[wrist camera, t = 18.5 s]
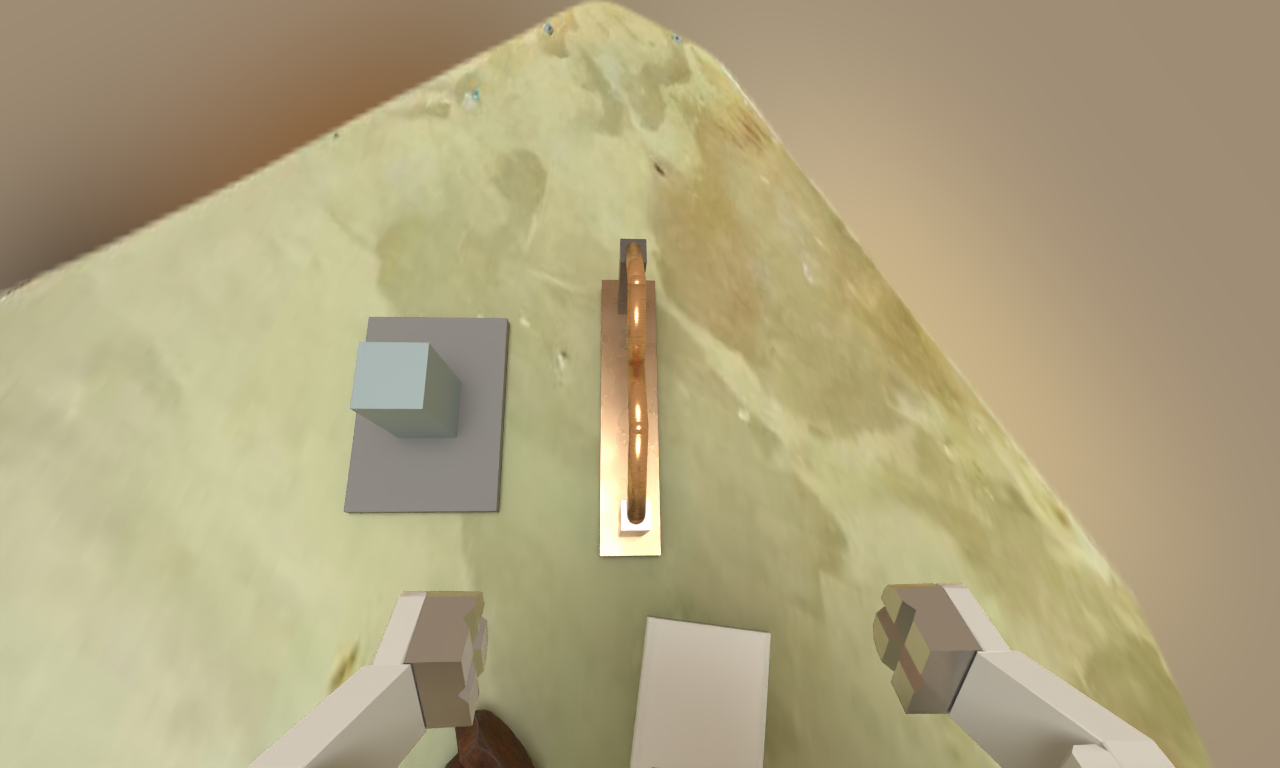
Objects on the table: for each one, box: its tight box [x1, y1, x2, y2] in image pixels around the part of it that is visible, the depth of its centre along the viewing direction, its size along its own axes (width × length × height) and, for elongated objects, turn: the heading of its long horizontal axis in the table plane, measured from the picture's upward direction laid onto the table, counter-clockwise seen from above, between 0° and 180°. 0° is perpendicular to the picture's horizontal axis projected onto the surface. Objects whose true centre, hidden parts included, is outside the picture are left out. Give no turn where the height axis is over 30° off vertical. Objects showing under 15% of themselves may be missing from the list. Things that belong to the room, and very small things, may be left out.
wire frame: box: [600, 239, 661, 556], centre depth 37 cm, size 20×4×14 cm, turn 1°
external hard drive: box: [629, 616, 771, 768], centre depth 37 cm, size 2×8×12 cm
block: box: [350, 342, 461, 438], centre depth 38 cm, size 4×4×8 cm
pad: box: [344, 317, 509, 513], centre depth 42 cm, size 14×10×1 cm
